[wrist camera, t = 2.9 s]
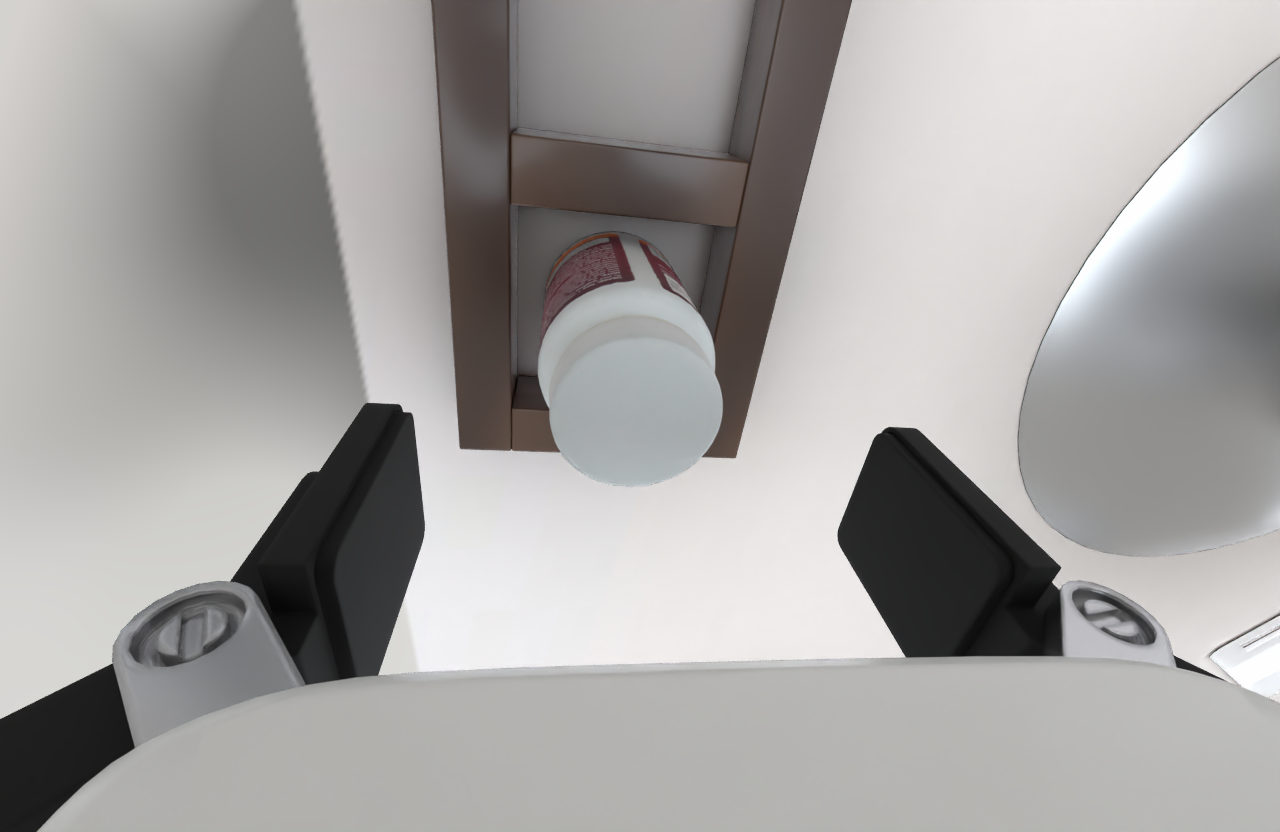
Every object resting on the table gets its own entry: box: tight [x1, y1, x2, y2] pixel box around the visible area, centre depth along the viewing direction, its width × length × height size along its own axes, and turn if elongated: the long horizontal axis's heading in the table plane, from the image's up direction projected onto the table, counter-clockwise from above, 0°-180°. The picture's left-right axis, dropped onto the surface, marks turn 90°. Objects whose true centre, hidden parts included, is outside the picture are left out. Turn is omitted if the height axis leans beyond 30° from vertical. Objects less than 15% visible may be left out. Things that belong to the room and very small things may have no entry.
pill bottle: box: [538, 232, 723, 487], centre depth 16 cm, size 5×5×8 cm
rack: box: [431, 0, 852, 458], centre depth 16 cm, size 10×19×2 cm, turn 173°
